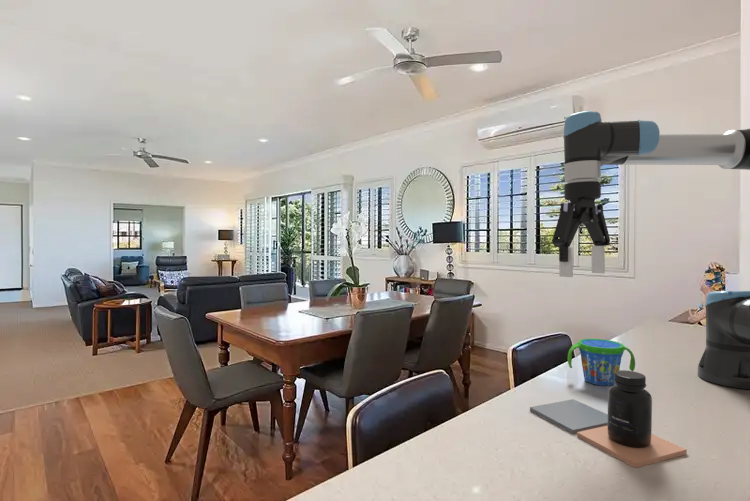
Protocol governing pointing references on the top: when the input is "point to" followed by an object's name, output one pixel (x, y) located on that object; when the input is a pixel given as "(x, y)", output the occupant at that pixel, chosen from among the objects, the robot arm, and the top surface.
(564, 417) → the slate pad
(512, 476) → the top surface
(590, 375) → the snack cup
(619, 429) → the supplement bottle
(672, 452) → the terracotta pad
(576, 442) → the top surface
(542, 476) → the top surface
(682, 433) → the top surface
